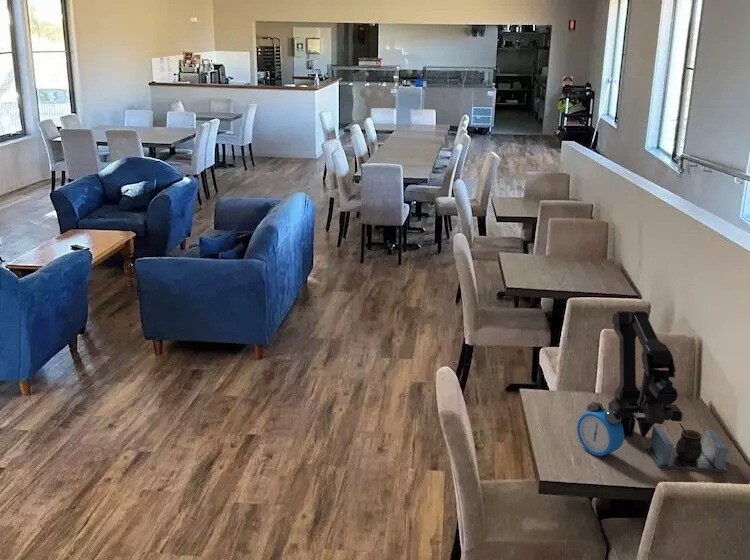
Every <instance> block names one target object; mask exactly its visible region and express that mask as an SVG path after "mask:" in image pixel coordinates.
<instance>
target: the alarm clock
mask: <svg viewBox="0 0 750 560" xmlns="http://www.w3.org/2000/svg"><path fill="white" fill-rule="evenodd" d="M585 409H586V411H587V412H586V413H585V412H584V413H583V414H582V415H581V416H580V417H579V419H578V422H577V424H576V425H577V426H576V430H577V432H576V433H577V436H578V439H579V442H580V444H582V446H583V449H585V450H586V451H587V452H588V453H590V454H592V455H594V456H597V457H600V459H601V460H602V459H603V456H605V455H608V454H610V453H613V452H615V451H618V450H619V449H620V448H621V447H622V445H623V444H624V441H625V436H624V430H623V426H622V424H621V418H620V417H617V413H616V411H614V410H608V409H607V408H604V406H603V404H602V403H600V402H598V401H593V400H592V402H590V403H588V404H587V405H586V408H585Z"/></svg>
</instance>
